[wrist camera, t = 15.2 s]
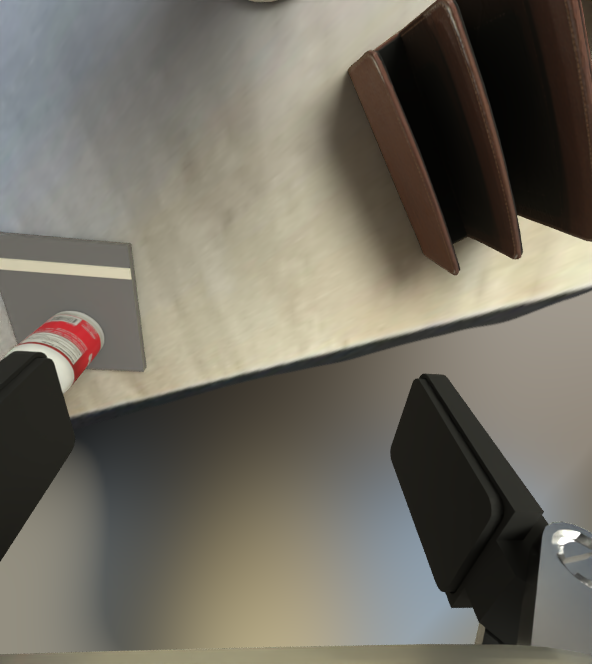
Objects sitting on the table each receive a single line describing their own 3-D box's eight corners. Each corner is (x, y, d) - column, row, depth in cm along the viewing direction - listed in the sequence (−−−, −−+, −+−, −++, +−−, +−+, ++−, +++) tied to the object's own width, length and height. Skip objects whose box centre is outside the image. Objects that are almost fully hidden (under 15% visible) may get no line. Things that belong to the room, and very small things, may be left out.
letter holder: (452, -7, 28) (587, -116, 16) (509, 208, 37) (625, 243, 25) (345, 69, 31) (392, 24, 18) (423, 256, 39) (490, 310, 27)
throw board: (-12, 231, 35) (-21, 234, 34) (130, 243, 37) (126, 246, 36) (29, 360, 43) (23, 366, 42) (146, 367, 44) (143, 372, 43)
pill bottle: (78, 362, 42) (20, 428, 33) (37, 324, 40) (-39, 384, 30) (117, 340, 41) (70, 402, 32) (78, 299, 38) (13, 353, 29)
